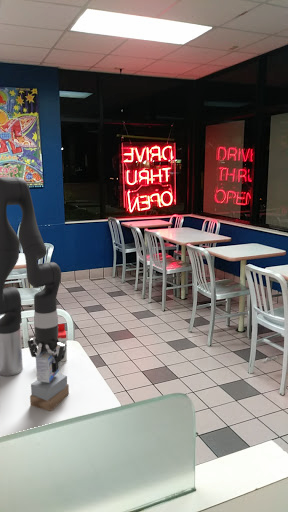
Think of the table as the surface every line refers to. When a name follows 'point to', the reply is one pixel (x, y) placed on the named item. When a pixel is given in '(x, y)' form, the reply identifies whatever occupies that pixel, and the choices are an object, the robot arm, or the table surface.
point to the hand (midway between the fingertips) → (48, 369)
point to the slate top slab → (49, 387)
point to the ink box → (62, 338)
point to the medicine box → (44, 368)
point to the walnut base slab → (50, 403)
